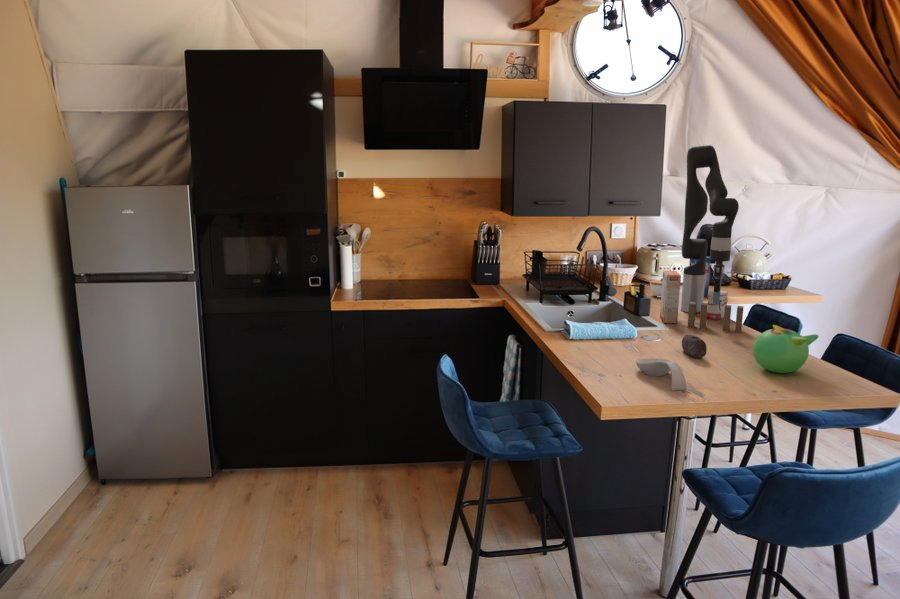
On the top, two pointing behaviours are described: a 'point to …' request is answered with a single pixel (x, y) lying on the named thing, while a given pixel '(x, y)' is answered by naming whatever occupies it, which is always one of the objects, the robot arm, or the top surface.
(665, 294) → the cracker box
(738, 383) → the top surface
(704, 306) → the domino
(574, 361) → the top surface
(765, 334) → the toy bird
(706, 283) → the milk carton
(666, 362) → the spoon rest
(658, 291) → the lidded jar
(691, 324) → the domino
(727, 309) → the domino
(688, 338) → the perforated stone tool
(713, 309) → the ink box
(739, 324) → the domino
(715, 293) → the domino
